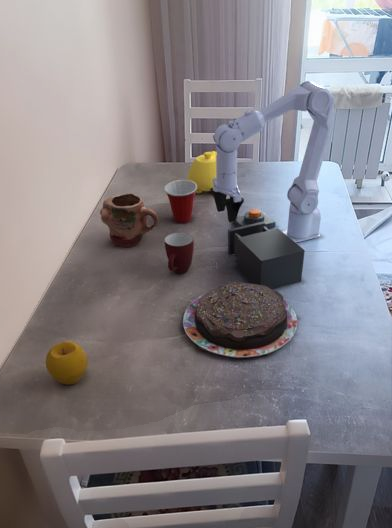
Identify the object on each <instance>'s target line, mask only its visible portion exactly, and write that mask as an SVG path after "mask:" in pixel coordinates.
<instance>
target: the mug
mask: <svg viewBox="0 0 392 528" xmlns="http://www.w3.org/2000/svg"><path fill="white" fill-rule="evenodd" d="M164 250H165V254H166V257H167V260H168V261H167V267H168V270H169V271H171V272H174V273H176V274H185V273H187V272H188V271H189V269H190V267H191V266H192V263H193V258H194V250H195V238H194V236H193V235H192V234H190V233H188V232H173V233H170V234H168V235H166V237H165V238H164Z"/></svg>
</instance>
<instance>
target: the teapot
mask: <svg viewBox="0 0 392 528" xmlns="http://www.w3.org/2000/svg"><path fill="white" fill-rule="evenodd" d="M216 154H217V152H216V150H210V151H206V152H203V154H200V155H198V156H196V158H195V159H194V160H193V162H192V163H191V166H190V167H189V170H188V175H187V180H189V181H193V182H194V183H196V185H197V189H196V192H195V194H201V193H203V192H211V191H210V188H213V187H214V186H215V185H213V178H216Z"/></svg>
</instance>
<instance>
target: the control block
mask: <svg viewBox="0 0 392 528" xmlns="http://www.w3.org/2000/svg"><path fill="white" fill-rule="evenodd" d="M259 222H264V223H265V227H266V228H268V229H271V228H276V224H277V223H276V221H275V220H274V219H272V218H271V217H270V216H269V215H267V214H266V213H265V212H263V211H260V217H257V218H252V217H249V210H248V211H246V212H245V213H244V215H240V216H239V215H238V216H237V219H236V221H233V222H232V223H233V224H234V225H235V226H236V227H237V228H238V227H242V226H246V225H251V224H255V223H259Z"/></svg>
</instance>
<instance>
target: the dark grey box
mask: <svg viewBox="0 0 392 528" xmlns="http://www.w3.org/2000/svg"><path fill="white" fill-rule="evenodd" d="M269 230H270V228H266V227H265V223H264V222H259V223H255V224H251V225H246V226H242V227H238V226H237V227H234V228H230V229H227V255H229V256H232V255H233V257H234V258H235V259H237V238H239V237H244V236H248V235H252V234H256V233H261V232H265V231H269Z"/></svg>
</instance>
